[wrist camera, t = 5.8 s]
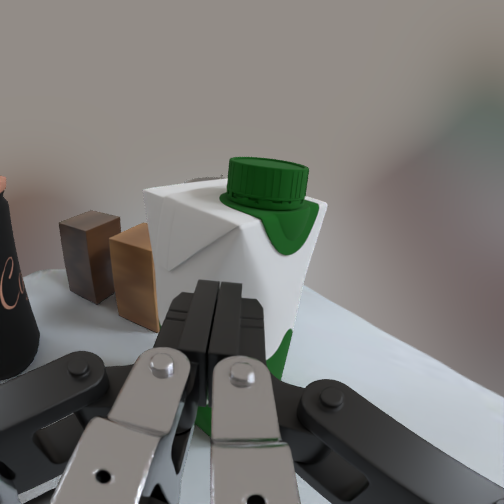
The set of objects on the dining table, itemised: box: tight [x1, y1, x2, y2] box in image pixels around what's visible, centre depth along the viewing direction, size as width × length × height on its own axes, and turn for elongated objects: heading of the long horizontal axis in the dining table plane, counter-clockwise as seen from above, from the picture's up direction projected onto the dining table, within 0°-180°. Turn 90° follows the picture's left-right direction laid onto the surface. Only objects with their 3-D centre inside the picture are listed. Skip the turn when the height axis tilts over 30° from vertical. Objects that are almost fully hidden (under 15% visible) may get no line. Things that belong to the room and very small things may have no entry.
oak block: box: [109, 223, 160, 333], centre depth 32 cm, size 6×6×10 cm
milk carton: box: [143, 157, 327, 437], centre depth 19 cm, size 9×9×20 cm
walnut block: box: [59, 211, 121, 304], centre depth 35 cm, size 6×6×10 cm
